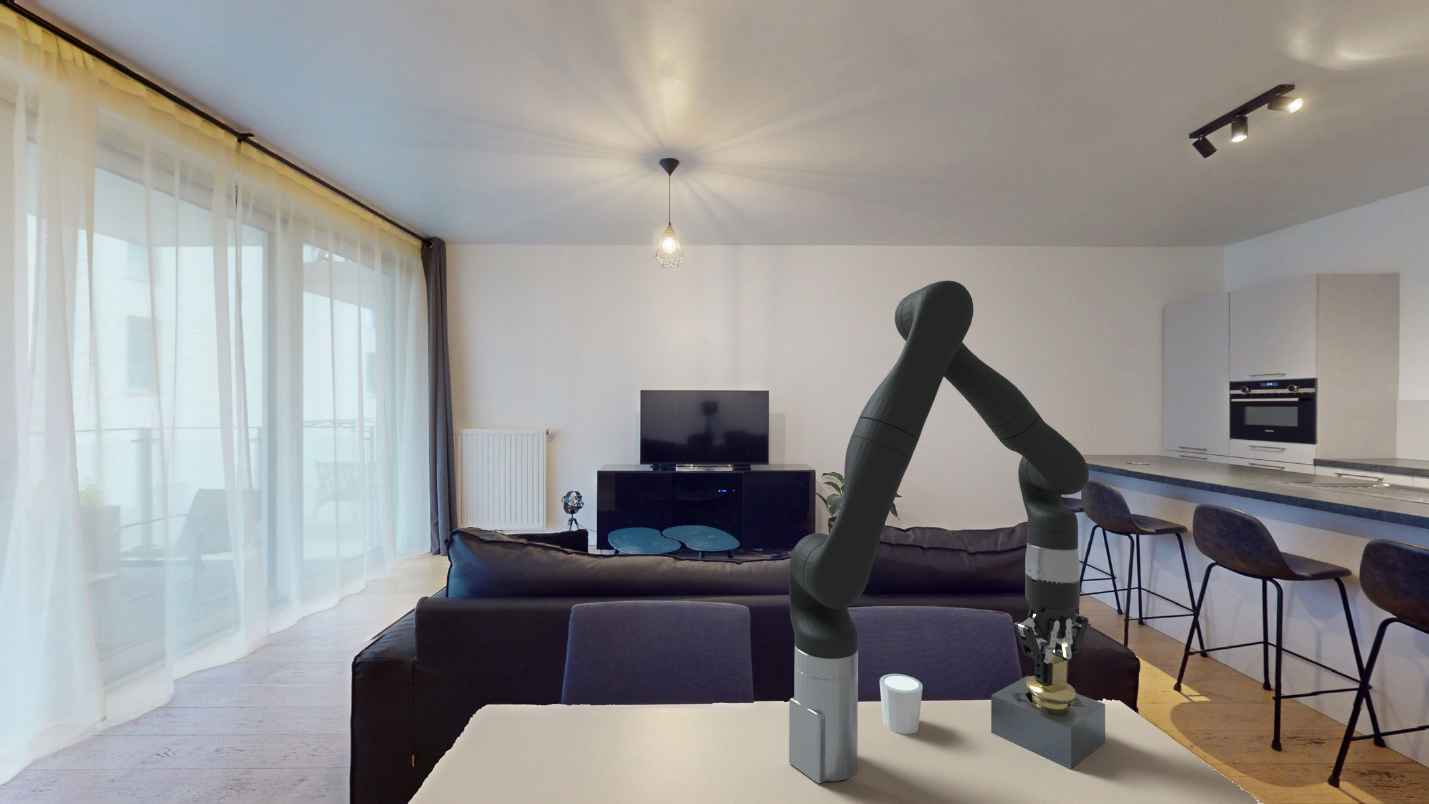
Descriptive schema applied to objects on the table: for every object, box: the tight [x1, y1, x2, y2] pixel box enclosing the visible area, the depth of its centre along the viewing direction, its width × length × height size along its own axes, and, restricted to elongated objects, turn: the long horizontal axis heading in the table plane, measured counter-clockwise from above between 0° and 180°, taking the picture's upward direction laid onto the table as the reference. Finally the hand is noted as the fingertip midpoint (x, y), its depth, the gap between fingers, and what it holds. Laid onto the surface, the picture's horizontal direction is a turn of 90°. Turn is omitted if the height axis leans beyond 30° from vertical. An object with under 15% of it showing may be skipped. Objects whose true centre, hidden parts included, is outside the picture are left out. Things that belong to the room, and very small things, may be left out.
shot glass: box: [879, 673, 923, 735], centre depth 98 cm, size 7×7×7 cm
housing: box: [990, 675, 1106, 770], centre depth 94 cm, size 12×12×6 cm
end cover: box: [1026, 652, 1077, 710], centre depth 94 cm, size 7×7×9 cm
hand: (1051, 681), depth 93 cm, fingers closed on end cover, 3 cm apart
